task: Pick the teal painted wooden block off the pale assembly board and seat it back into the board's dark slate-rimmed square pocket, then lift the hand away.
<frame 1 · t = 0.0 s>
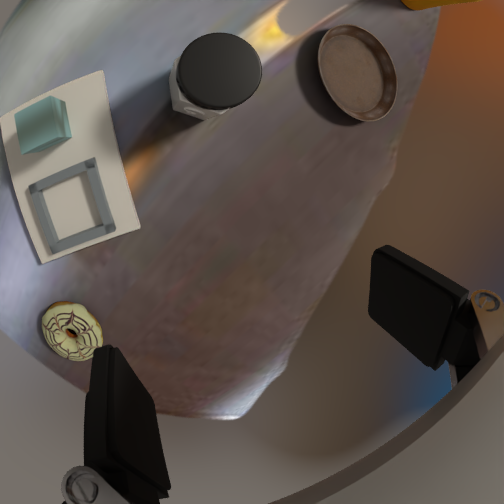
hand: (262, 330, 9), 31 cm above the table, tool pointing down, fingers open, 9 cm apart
decorated donut: (74, 324, 38), on the table
assembly board: (64, 168, 30), on the table
plant saucer: (351, 73, 38), on the table
jar: (199, 89, 32), on the table
teal block: (51, 126, 26), point 1 cm above the table, touching assembly board
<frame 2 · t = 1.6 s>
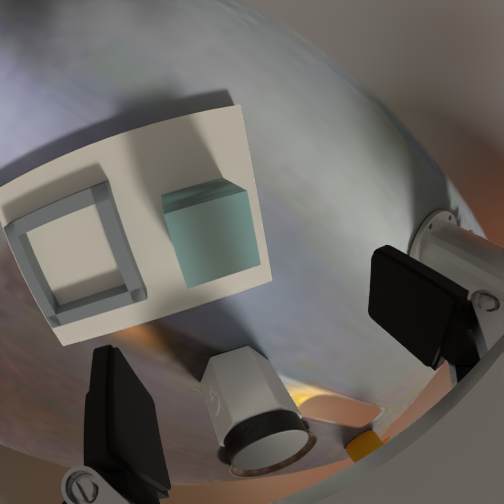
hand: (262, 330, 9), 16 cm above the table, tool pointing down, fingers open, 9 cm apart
assembly board: (129, 232, 22), on the table
plant saucer: (269, 446, 44), on the table
jar: (234, 370, 32), on the table
beer bottle: (358, 439, 59), on the table
teal block: (199, 215, 22), point 1 cm above the table, touching assembly board
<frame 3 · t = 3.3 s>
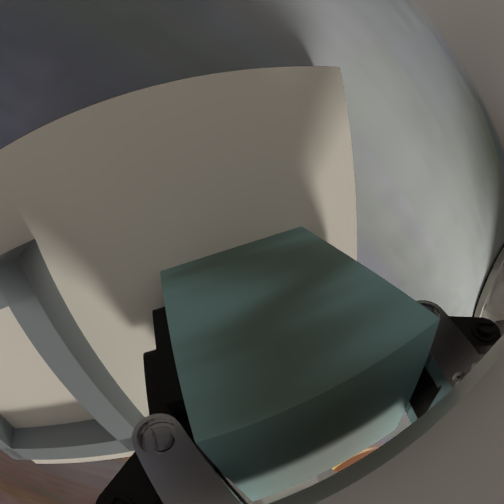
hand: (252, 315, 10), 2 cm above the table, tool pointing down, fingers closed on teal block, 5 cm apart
assembly board: (102, 331, 10), on the table
jar: (271, 461, 20), on the table
teal block: (247, 307, 10), point 1 cm above the table, touching assembly board, gripper
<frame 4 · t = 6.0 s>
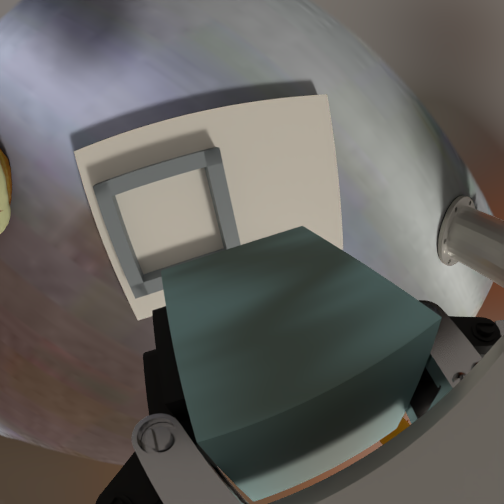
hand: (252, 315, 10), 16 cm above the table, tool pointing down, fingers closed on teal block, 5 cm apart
assembly board: (224, 200, 25), on the table
beer bottle: (383, 419, 62), on the table
teal block: (248, 307, 10), point 16 cm above the table, touching gripper
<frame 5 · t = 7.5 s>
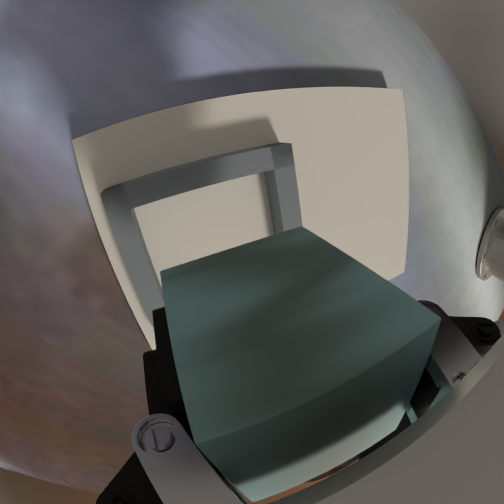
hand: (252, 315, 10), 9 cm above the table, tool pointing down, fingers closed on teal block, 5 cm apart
assembly board: (282, 214, 19), on the table
plant saucer: (335, 447, 41), on the table
jar: (340, 371, 29), on the table
teal block: (247, 307, 10), point 8 cm above the table, touching gripper
when the fingers open (4 cm above the table, at t = 8.8 s): teal block drops 2 cm, resting on assembly board.
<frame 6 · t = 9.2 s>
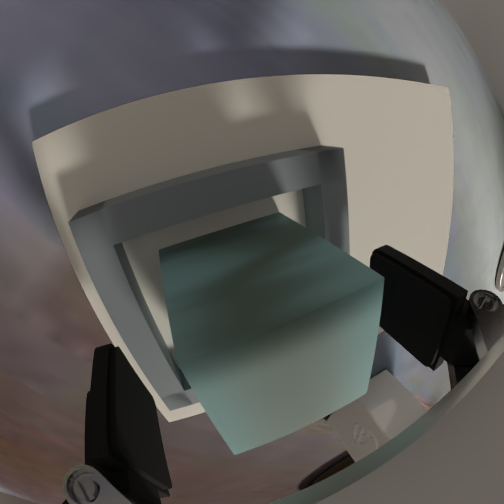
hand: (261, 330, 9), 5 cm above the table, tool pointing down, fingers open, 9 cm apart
assembly board: (316, 238, 14), on the table
plant saucer: (345, 464, 37), on the table
jar: (360, 399, 25), on the table
teal block: (234, 283, 12), point 1 cm above the table, touching assembly board
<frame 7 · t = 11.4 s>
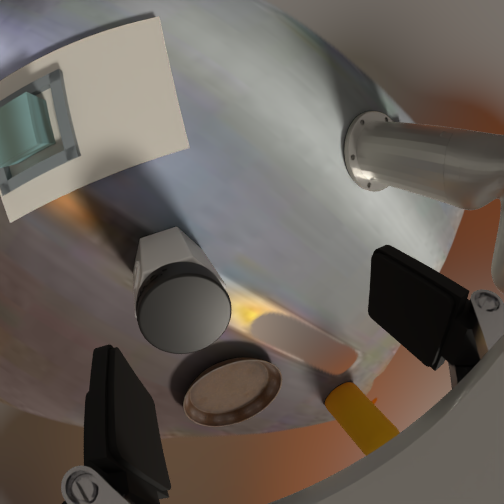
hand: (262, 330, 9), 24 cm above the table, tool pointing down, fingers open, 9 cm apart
assembly board: (74, 113, 22), on the table
plant saucer: (228, 385, 45), on the table
jar: (167, 261, 33), on the table
beer bottle: (338, 393, 61), on the table
teal block: (30, 131, 20), point 1 cm above the table, touching assembly board
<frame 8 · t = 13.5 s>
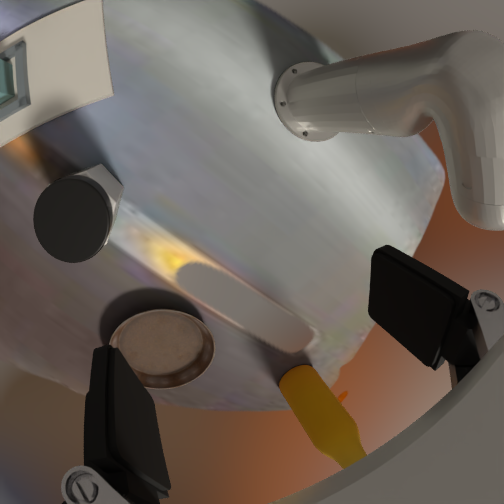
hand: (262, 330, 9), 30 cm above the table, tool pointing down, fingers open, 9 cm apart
assembly board: (32, 74, 22), on the table
plant saucer: (160, 342, 44), on the table
jar: (93, 196, 32), on the table
beer bottle: (295, 377, 59), on the table
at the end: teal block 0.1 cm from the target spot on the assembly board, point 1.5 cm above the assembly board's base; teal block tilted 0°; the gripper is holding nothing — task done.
